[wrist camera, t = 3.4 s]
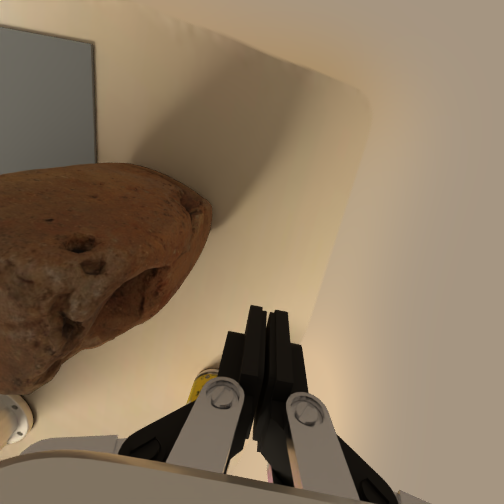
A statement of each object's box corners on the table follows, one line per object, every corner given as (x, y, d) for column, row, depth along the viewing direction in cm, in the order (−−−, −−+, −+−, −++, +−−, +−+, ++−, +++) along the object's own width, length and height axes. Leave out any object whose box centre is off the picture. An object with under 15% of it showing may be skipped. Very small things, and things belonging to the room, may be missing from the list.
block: (107, 222, 29) (-182, 357, 11) (120, 152, 27) (-236, 168, 8) (204, 258, 30) (91, 443, 11) (226, 193, 27) (125, 297, 9)
